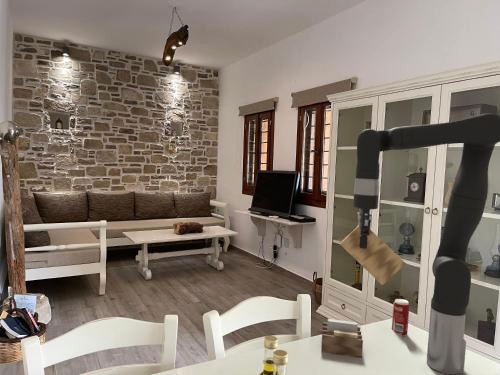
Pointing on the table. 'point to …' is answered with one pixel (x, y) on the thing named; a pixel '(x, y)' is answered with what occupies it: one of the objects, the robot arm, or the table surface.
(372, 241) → the tall sheet
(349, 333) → the offcut pine
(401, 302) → the soda can
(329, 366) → the table surface
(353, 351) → the rack
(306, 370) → the table surface
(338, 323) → the offcut grey
